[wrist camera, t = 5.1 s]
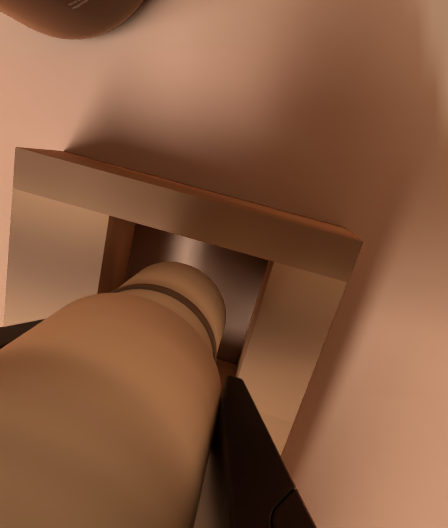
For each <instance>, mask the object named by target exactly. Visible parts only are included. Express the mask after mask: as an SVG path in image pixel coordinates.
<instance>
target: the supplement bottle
mask: <svg viewBox="0 0 448 528" xmlns="http://www.w3.org/2000/svg"><path fill="white" fill-rule="evenodd" d="M143 1H144V0H0V11H1V12H3V13H5V14H6V15H7V16H10V17H12V18H13V19H15V20H17V21H18V22H20V23H22V24H24V25H26V26H27V27H29V28H32V29H34V30H36V31H38V32H40V33H43V34H46V35H49V36H52V37H56V38H61V39H85V38H91V37H95V36H98V35H101V34H103V33H106V32H108V31H110V30H112V29H113V28H115V27H117V26H118V25H120V24H121V23H122V22H124V21H125V20H126V19H127V18H129V17H130V16H131V15H132V14H133V13H134V12H135V11H136V9H137V8H138V7H139V6H140V5H141V3H142V2H143Z"/></svg>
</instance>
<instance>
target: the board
mask: <svg viewBox="0 0 448 528" xmlns="http://www.w3.org/2000/svg"><path fill="white" fill-rule="evenodd" d="M136 223H138V224H141V225H145V226H148V227H152V228H156V229H159V230H163V231H166V232H170V233H173V234H177V235H181V236H184V237H188V238H191V239H195V240H198V241H202V242H205V243H209V244H213V245H216V246H220V247H223V248H227V249H230V250H234V251H237V252H241V253H245V254H248V255H252V256H255V257H259V258H262V259H266V260H269V262H268V265H267V268H266V271H265V275H264V278H263V281H262V285H261V288H260V291H259V294H258V298H257V301H256V304H255V307H254V311H253V314H252V317H251V321H250V324H249V327H248V330H247V334H246V337H245V340H244V343H243V347H242V350H241V353H240V357H239V360H238V363H237V364H233V363H230V362H227V361H223V360H220V359H217V358H216V365H217V368H218V372H219V376H220V382H221V392H222V388H223V385H224V382H225V378H226V376H227V375H232V376H235V377H238V378H241V379H243V381H244V383H245V385H246V387H247V389H248V391H249V393H250V395H251V397H252V399H253V401H254V403H255V405H256V407H257V409H258V411H259V413H260V415H261V417H262V419H263V421H264V423H265V425H266V427H267V429H268V431H269V433H270V435H271V437H272V439H273V442H274V444H275V446H276V448H277V450H278V452H279V454H280V456H281V454H282V451H283V449H284V446H285V443H286V441H287V438H288V436H289V433H290V430H291V428H292V425H293V423H294V420H295V417H296V415H297V412H298V410H299V407H300V404H301V402H302V399H303V397H304V394H305V391H306V389H307V386H308V384H309V381H310V378H311V376H312V373H313V371H314V368H315V366H316V363H317V360H318V358H319V355H320V353H321V350H322V347H323V345H324V342H325V340H326V337H327V334H328V332H329V329H330V327H331V324H332V321H333V319H334V316H335V314H336V311H337V308H338V306H339V303H340V301H341V298H342V295H343V293H344V290H345V288H346V285H347V282H348V280H349V277H350V275H351V272H352V269H353V267H354V264H355V262H356V259H357V256H358V254H359V251H360V249H361V246H362V243H363V242H362V241H361V240H360V239H359V238H357V237H356V236H355V235H353V234H352V233H351V232H350V231H348V230H347V229H346V228H343V227H340V226H336V225H332V224H329V223H325V222H321V221H318V220H314V219H310V218H307V217H303V216H299V215H295V214H292V213H288V212H284V211H281V210H277V209H273V208H270V207H266V206H262V205H259V204H255V203H251V202H248V201H244V200H240V199H237V198H233V197H229V196H226V195H222V194H218V193H215V192H211V191H207V190H203V189H200V188H196V187H192V186H189V185H185V184H181V183H178V182H174V181H170V180H167V179H163V178H159V177H156V176H152V175H148V174H145V173H141V172H137V171H134V170H130V169H126V168H123V167H119V166H115V165H111V164H108V163H104V162H100V161H97V160H93V159H89V158H86V157H82V156H78V155H75V154H71V153H67V152H64V151H55V150H43V149H32V148H20V147H16V149H15V164H14V179H13V194H12V209H11V224H10V239H9V254H8V269H7V284H6V299H5V314H4V327H5V326H10V325H15V324H21V323H26V322H31V321H36V320H41V319H47V318H48V317H50V316H51V315H53V314H54V313H56V312H57V311H59V310H60V309H62V308H63V307H65V306H66V305H68V304H69V303H71V302H73V301H75V300H77V299H80V298H83V297H86V296H89V295H94V294H100V293H110V292H111V291H113V290H115V289H118V288H119V287H120V286H121V285H123V284H124V283H125V280H126V275H127V269H128V263H129V258H130V252H131V246H132V241H133V235H134V229H135V224H136ZM194 526H195V523H194Z"/></svg>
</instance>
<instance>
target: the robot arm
mask: <svg viewBox="0 0 448 528" xmlns="http://www.w3.org/2000/svg"><path fill="white" fill-rule="evenodd" d="M44 320H45V319H41V320H36V321H31V322H26V323H21V324H15V325H10V326H5V327H0V349H1V348H3V347H4V346H6V345H7V344H9V343H10V342H12V341H13V340H15V339H16V338H18V337H19V336H21V335H22V334H24V333H25V332H27V331H28V330H30V329H31V328H33V327H34V326H36V325H37V324H39V323H41V322H42V321H44ZM295 488H296V487H295V484H294V482H293V480H292V478H291V476H290V474H289V472H288V470H287V468H286V466H285V464H284V462H283V460H282V458H281V456H280V454H279V452H278V450H277V448H276V446H275V444H274V442H273V439H272V437H271V435H270V433H269V431H268V429H267V427H266V425H265V423H264V421H263V419H262V417H261V415H260V413H259V411H258V409H257V407H256V405H255V403H254V401H253V399H252V397H251V395H250V393H249V391H248V389H247V387H246V385H245V383H244V381H243V379H241V378H238V377H235V376H232V375H227V376H226V378H225V382H224V385H223V388H222V392H221V402H220V406H219V411H218V416H217V421H216V426H215V431H214V435H213V440H212V445H211V449H210V454H209V459H208V463H207V468H206V472H205V477H204V482H203V486H202V491H201V496H200V500H199V505H198V510H197V514H196V519H195V526H194V528H317V527H316V525H315V523H314V521H313V519H312V517H311V516H310V514H309V512H308V510H307V508H306V506H305V504H304V502H303V500H302V498H301V496H300V494H299V492H298V490H297V489H295Z"/></svg>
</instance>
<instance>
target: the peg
mask: <svg viewBox="0 0 448 528" xmlns="http://www.w3.org/2000/svg"><path fill="white" fill-rule="evenodd" d="M225 323H226V309H225V304H224V301H223V298H222V296H221V294H220V292H219V290H218V288H217V287H216V285H215V284H214V283H213V282H212V281H211V280H210V278H208V277H207V276H206V275H205V274H204V273H202V272H201V271H199V270H198V269H196V268H194V267H192V266H189V265H186V264H182V263H178V262H161V263H156V264H153V265H150V266H148V267H146V268H144V269H142V270H141V271H140V272H138V273H137V274H136V275H134V276H133V277H132V278H130V279H129V280H128V281H127V282H125V283H124V284H123V285H121V286H120V287H119V288H118V289H115V290H113V291H111V292H110V293H100V294H94V295H89V296H86V297H83V298H80V299H77V300H75V301H73V302H71V303H69V304H68V305H66V306H65V307H63V308H62V309H60V310H59V311H57V312H56V313H54V314H53V315H51V316H50V317H48V318H47V319H45V320H44V321H42V322H41V323H39V324H37V325H36V326H34V327H33V328H31V329H30V330H28V331H27V332H25V333H24V334H22V335H21V336H19V337H18V338H16V339H15V340H13V341H12V342H10V343H9V344H7V345H6V346H4V347H3V348H1V349H0V528H194V523H195V519H196V514H197V510H198V505H199V500H200V496H201V491H202V486H203V482H204V477H205V472H206V468H207V463H208V459H209V454H210V449H211V445H212V440H213V435H214V431H215V426H216V421H217V416H218V411H219V406H220V402H221V382H220V376H219V372H218V368H217V365H216V358H217V352H218V348H219V345H220V341H221V338H222V335H223V331H224V328H225Z"/></svg>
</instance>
